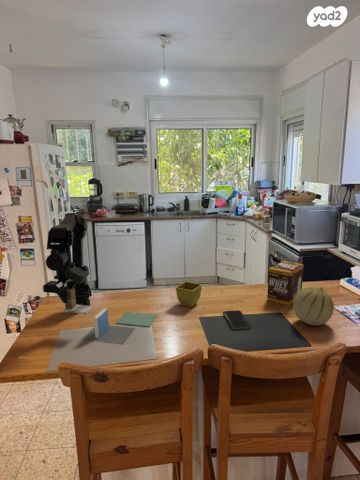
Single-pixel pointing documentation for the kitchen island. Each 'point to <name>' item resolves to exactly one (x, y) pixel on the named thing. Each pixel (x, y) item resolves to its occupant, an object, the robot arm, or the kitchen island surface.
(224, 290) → the kitchen island surface
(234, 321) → the phone
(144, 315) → the board
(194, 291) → the flower pot
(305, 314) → the cantaloupe
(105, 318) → the tile
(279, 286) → the supplement box
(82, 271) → the robot arm
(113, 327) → the mat
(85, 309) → the upright brown pillar
